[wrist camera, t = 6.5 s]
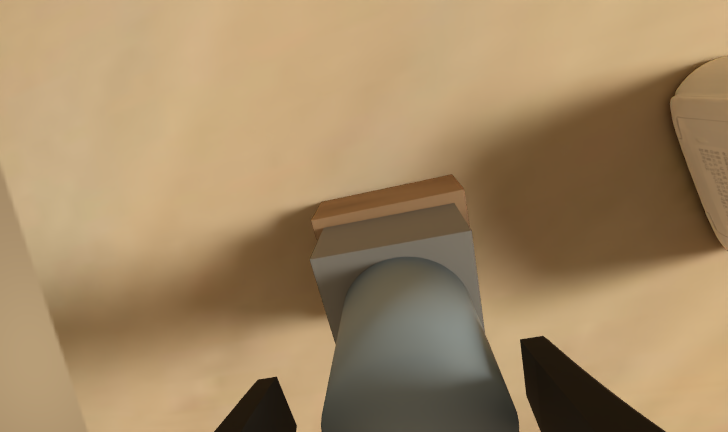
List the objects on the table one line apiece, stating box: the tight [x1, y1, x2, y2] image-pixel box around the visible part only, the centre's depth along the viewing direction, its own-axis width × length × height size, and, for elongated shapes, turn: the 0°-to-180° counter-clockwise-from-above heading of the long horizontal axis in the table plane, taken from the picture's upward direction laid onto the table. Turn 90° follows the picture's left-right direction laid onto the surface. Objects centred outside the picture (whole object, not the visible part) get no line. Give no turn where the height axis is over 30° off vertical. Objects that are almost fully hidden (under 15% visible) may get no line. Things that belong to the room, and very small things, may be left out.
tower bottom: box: [311, 175, 470, 242], centre depth 18 cm, size 7×7×3 cm
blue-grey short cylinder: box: [321, 257, 519, 432], centre depth 11 cm, size 5×5×5 cm
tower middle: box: [310, 203, 485, 344], centre depth 15 cm, size 6×6×3 cm
